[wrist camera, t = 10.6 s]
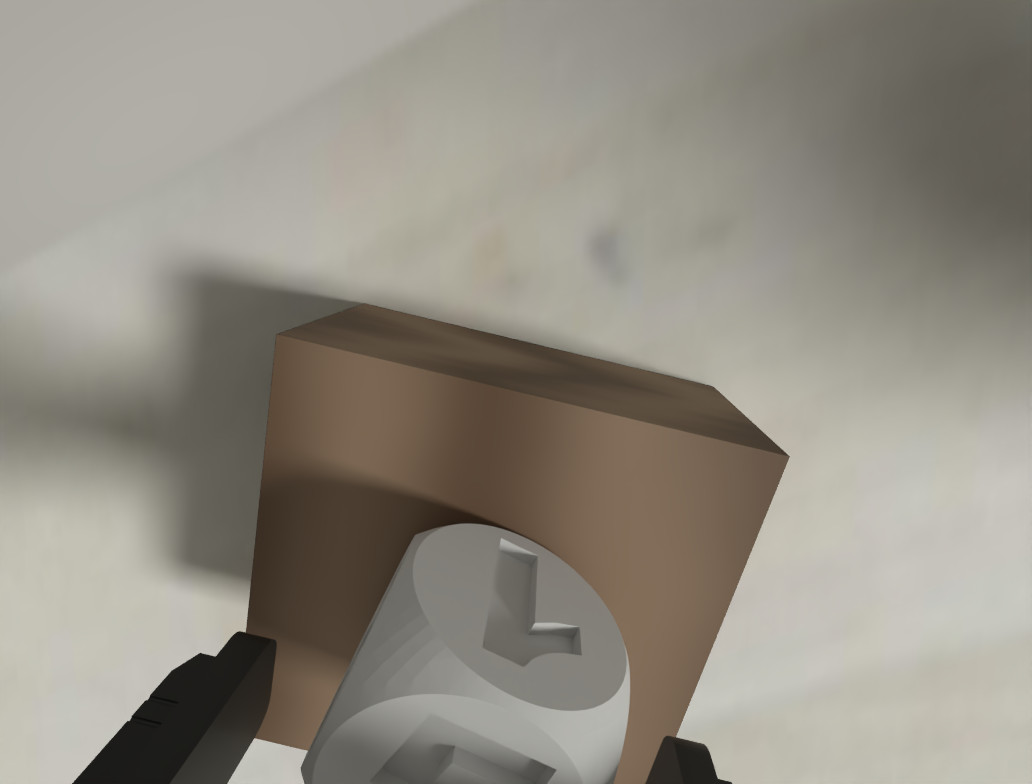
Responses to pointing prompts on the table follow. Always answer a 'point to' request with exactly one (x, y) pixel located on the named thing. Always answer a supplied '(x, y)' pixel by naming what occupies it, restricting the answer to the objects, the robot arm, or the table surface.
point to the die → (479, 673)
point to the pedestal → (496, 497)
